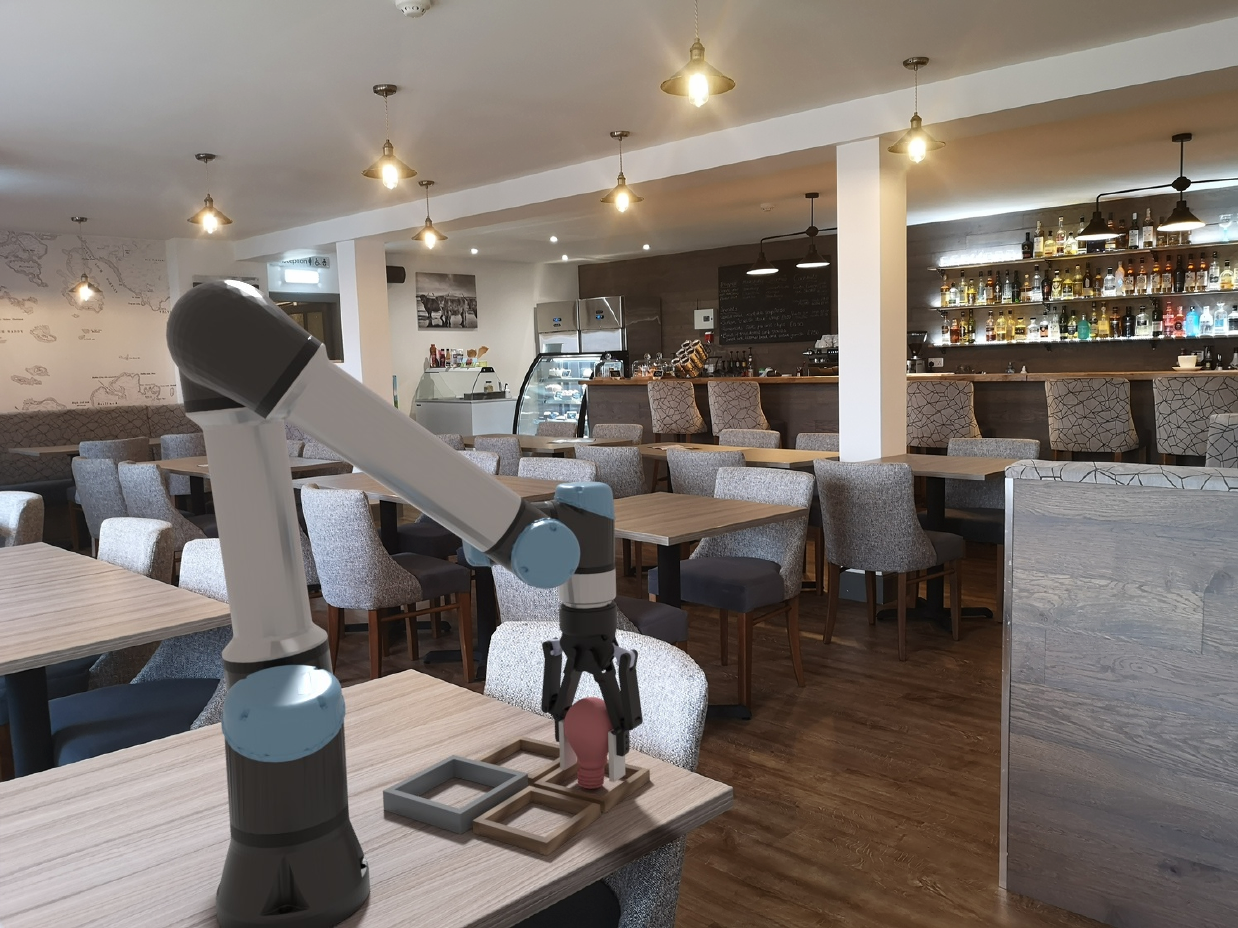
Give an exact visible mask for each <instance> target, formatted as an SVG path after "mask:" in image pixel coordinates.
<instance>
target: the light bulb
mask: <svg viewBox="0 0 1238 928" xmlns="http://www.w3.org/2000/svg"><path fill="white" fill-rule="evenodd" d="M611 730H613V726H612V723H611V720H610V717H609V714H608V711H607V708H606V705H605V702H604V699H603V698H600V697H595V696H587V697H584V698H581V699H579V700H577V701H576V702H573V704H572V706H571V707H570V709H569V710H568V712H567V714H566V717H565V721H564V731H565V734H566V737H567V739H568V741H569V743H570V745H571V747H572V749H573V751H574V752H575V754H576V756H577V764H578V765H579V768H578V769H577V773H576V774H577V776H576V777H577V784H578V786H579V787H582V788H583V789H590V790H591V789H597V788H598V789H599V788H601V787H602V786H604V783H605V780H604V779H605V773H604V766H605V765H606V764H607V760H609V758H608V756H609V749H608V732H609V731H611Z"/></svg>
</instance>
